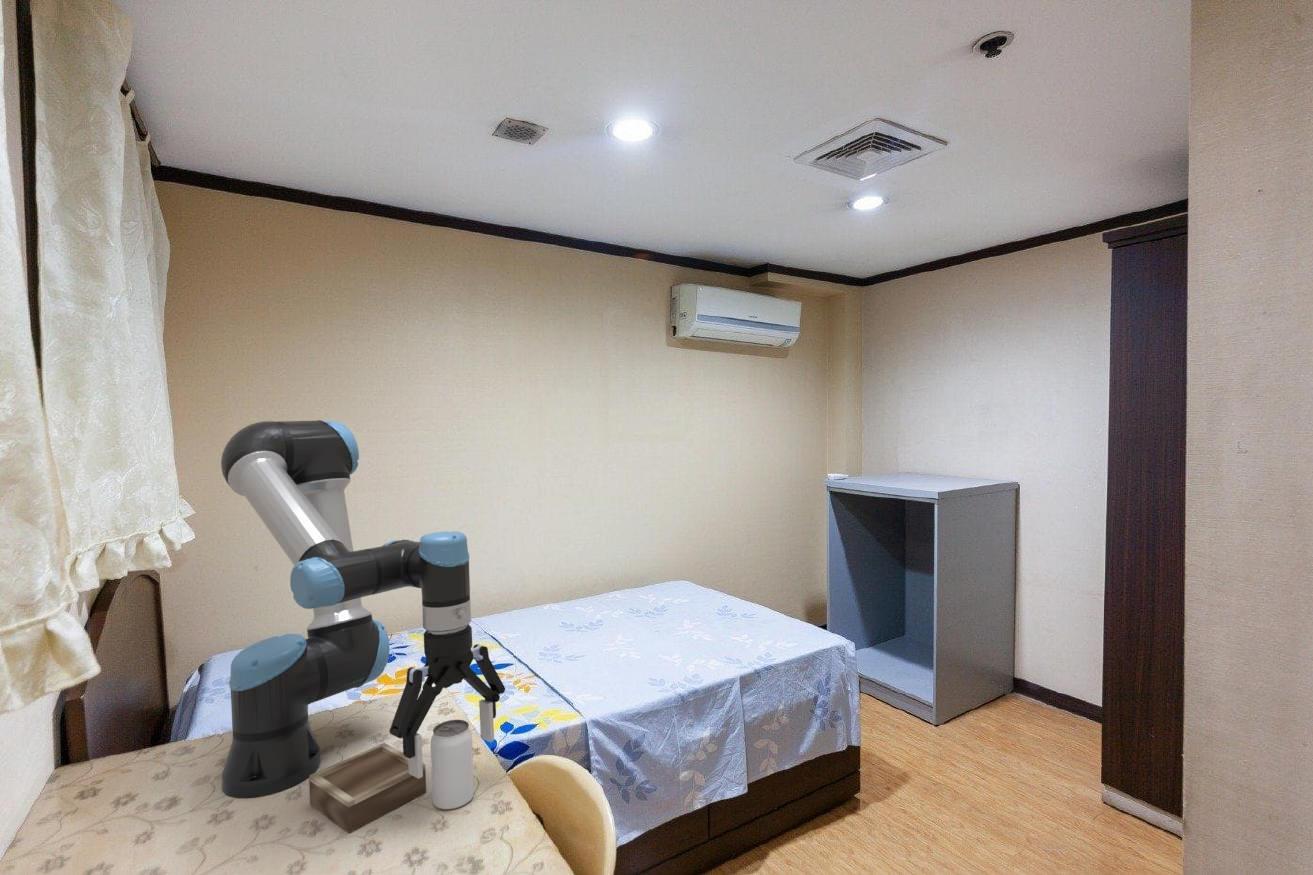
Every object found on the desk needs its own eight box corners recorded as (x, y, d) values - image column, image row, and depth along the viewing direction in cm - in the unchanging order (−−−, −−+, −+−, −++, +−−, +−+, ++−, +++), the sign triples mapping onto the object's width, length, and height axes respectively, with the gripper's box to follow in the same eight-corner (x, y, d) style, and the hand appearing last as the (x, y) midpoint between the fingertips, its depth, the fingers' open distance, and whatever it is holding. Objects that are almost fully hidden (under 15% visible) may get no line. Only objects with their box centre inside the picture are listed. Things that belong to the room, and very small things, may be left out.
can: (461, 813, 100) (459, 738, 100) (424, 809, 101) (422, 735, 101) (480, 790, 106) (478, 719, 106) (446, 786, 108) (443, 717, 108)
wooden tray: (310, 804, 104) (308, 775, 104) (385, 768, 114) (384, 742, 114) (349, 833, 96) (348, 802, 96) (426, 792, 106) (425, 764, 106)
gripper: (388, 654, 91) (394, 800, 91) (521, 611, 111) (527, 731, 111) (361, 645, 96) (368, 784, 96) (494, 605, 116) (499, 721, 116)
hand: (453, 756), depth 104 cm, fingers open, 13 cm apart
